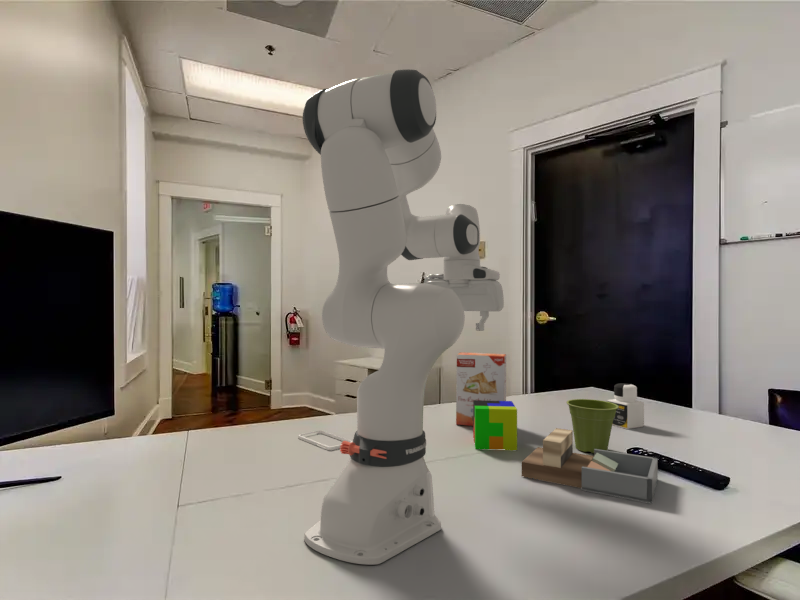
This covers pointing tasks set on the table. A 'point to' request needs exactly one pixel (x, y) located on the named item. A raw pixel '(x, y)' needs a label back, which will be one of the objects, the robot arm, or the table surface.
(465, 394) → the cracker box
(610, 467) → the tile sage
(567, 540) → the table surface
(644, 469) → the tray
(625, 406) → the medicine bottle
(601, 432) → the plant pot
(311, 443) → the phone case
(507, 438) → the puzzle toy
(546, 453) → the tall wooden pillar
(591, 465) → the tile terracotta
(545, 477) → the brown wooden block
